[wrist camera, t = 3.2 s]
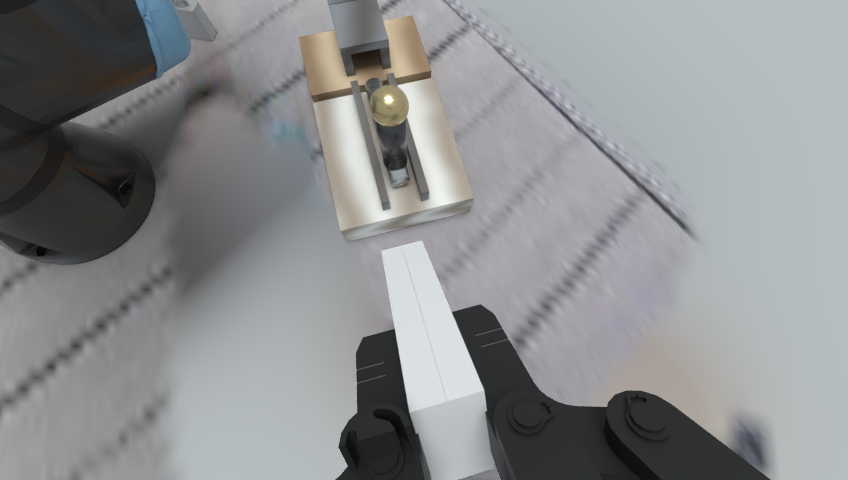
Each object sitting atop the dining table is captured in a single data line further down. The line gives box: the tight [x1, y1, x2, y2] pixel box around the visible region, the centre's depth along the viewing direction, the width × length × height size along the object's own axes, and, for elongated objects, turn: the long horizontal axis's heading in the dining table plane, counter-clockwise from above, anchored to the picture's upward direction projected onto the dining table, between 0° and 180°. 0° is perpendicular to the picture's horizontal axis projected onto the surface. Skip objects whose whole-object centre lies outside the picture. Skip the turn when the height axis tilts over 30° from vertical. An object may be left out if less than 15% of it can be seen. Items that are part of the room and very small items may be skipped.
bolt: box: [365, 78, 410, 187], centre depth 31 cm, size 3×12×12 cm, turn 15°
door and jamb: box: [299, 0, 474, 242], centre depth 38 cm, size 14×25×8 cm, turn 15°
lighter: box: [171, 0, 217, 41], centre depth 42 cm, size 7×2×8 cm, turn 79°
